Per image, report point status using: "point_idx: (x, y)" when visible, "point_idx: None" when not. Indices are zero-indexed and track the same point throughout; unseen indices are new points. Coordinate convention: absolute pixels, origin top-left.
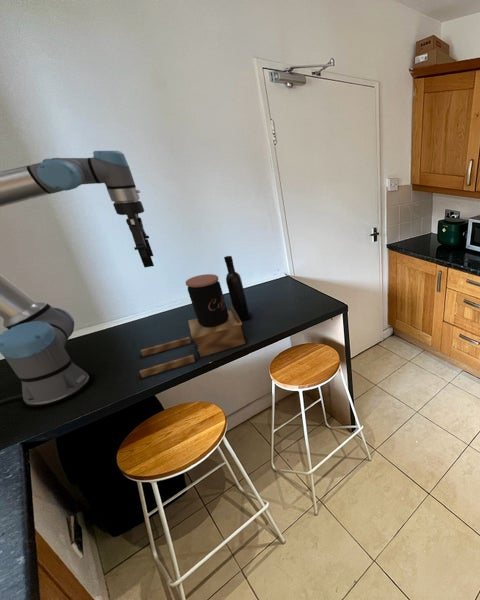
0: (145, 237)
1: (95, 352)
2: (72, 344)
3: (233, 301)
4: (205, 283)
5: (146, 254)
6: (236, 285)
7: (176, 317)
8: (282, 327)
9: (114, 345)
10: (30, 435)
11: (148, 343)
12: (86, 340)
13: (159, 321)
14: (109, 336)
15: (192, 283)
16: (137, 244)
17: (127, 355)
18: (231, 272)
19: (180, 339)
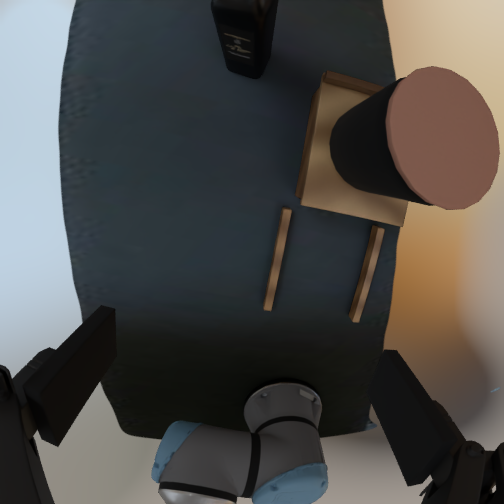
0: (20, 410)
1: (177, 363)
2: (117, 380)
3: (262, 52)
4: (499, 152)
5: (448, 420)
6: (274, 8)
7: (109, 202)
8: (374, 28)
9: (169, 336)
10: (364, 419)
11: (211, 285)
12: (113, 364)
13: (105, 241)
14: (119, 335)
15: (470, 189)
16: (493, 495)
17: (237, 326)
18: None
19: (282, 229)
